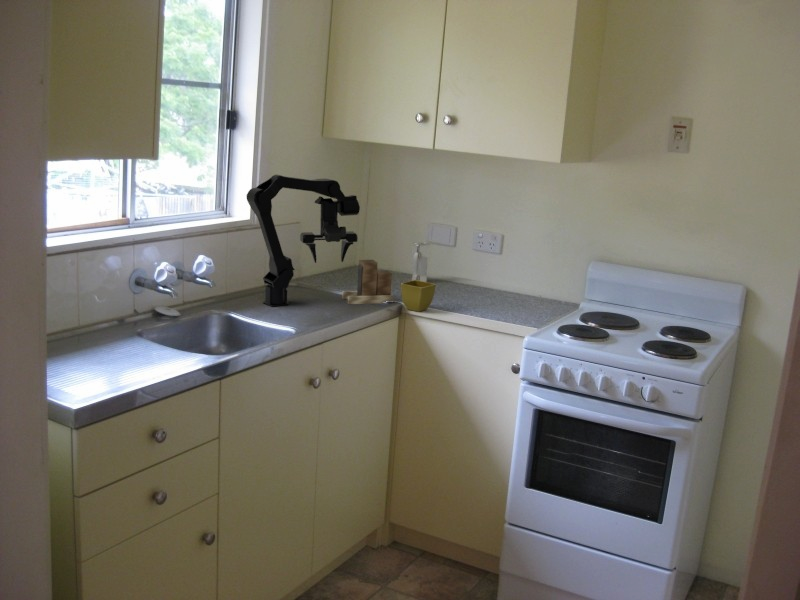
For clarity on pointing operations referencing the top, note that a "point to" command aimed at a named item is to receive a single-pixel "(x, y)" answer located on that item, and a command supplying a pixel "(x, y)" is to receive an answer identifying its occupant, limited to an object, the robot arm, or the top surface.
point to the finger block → (367, 278)
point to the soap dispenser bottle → (420, 260)
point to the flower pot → (417, 294)
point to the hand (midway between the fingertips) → (328, 262)
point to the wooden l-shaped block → (381, 291)
